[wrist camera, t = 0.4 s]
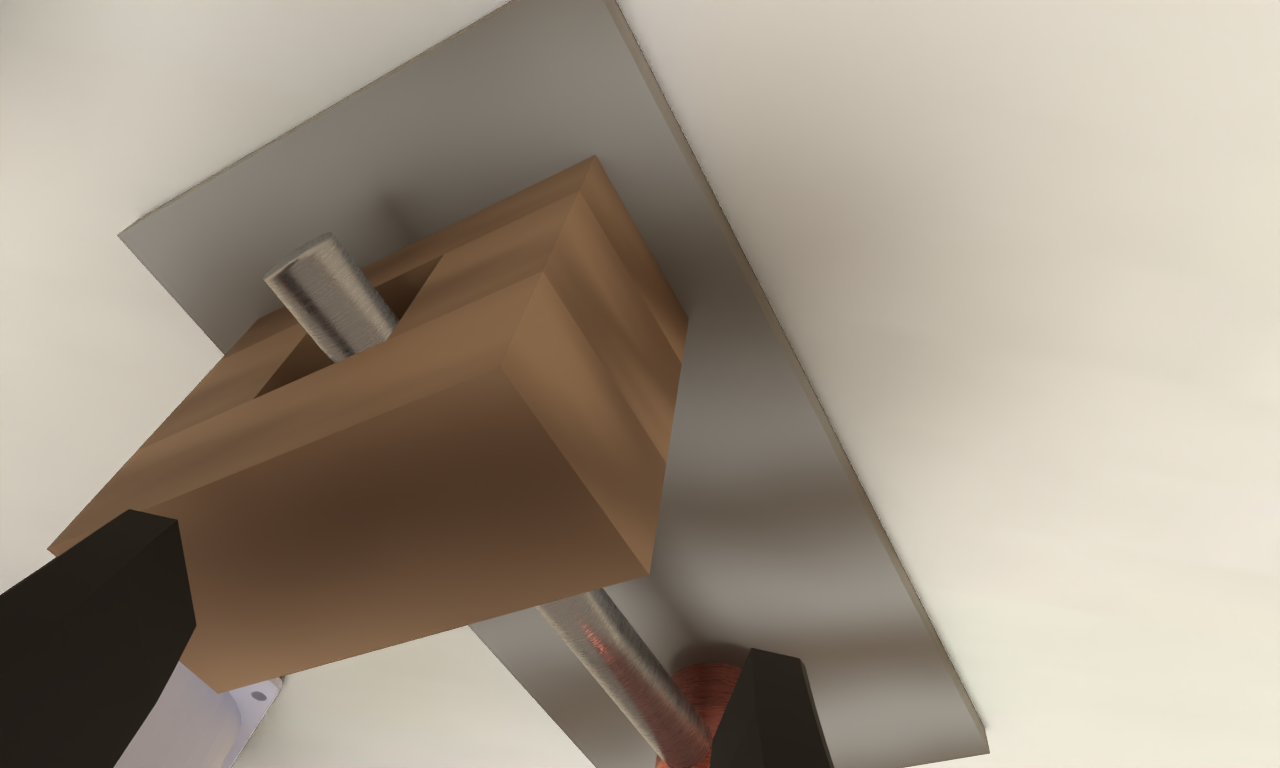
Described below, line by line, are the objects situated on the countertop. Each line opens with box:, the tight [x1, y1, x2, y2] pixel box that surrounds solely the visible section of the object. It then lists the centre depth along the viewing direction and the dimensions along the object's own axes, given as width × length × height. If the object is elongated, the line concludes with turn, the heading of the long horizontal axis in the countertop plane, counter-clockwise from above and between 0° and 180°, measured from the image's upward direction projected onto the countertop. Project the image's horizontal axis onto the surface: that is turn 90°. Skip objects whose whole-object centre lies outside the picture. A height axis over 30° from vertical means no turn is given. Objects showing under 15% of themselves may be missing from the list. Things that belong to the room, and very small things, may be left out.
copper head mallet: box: [263, 232, 742, 768], centre depth 19 cm, size 18×3×5 cm, turn 28°
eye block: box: [47, 0, 990, 768], centre depth 20 cm, size 24×12×8 cm, turn 28°
